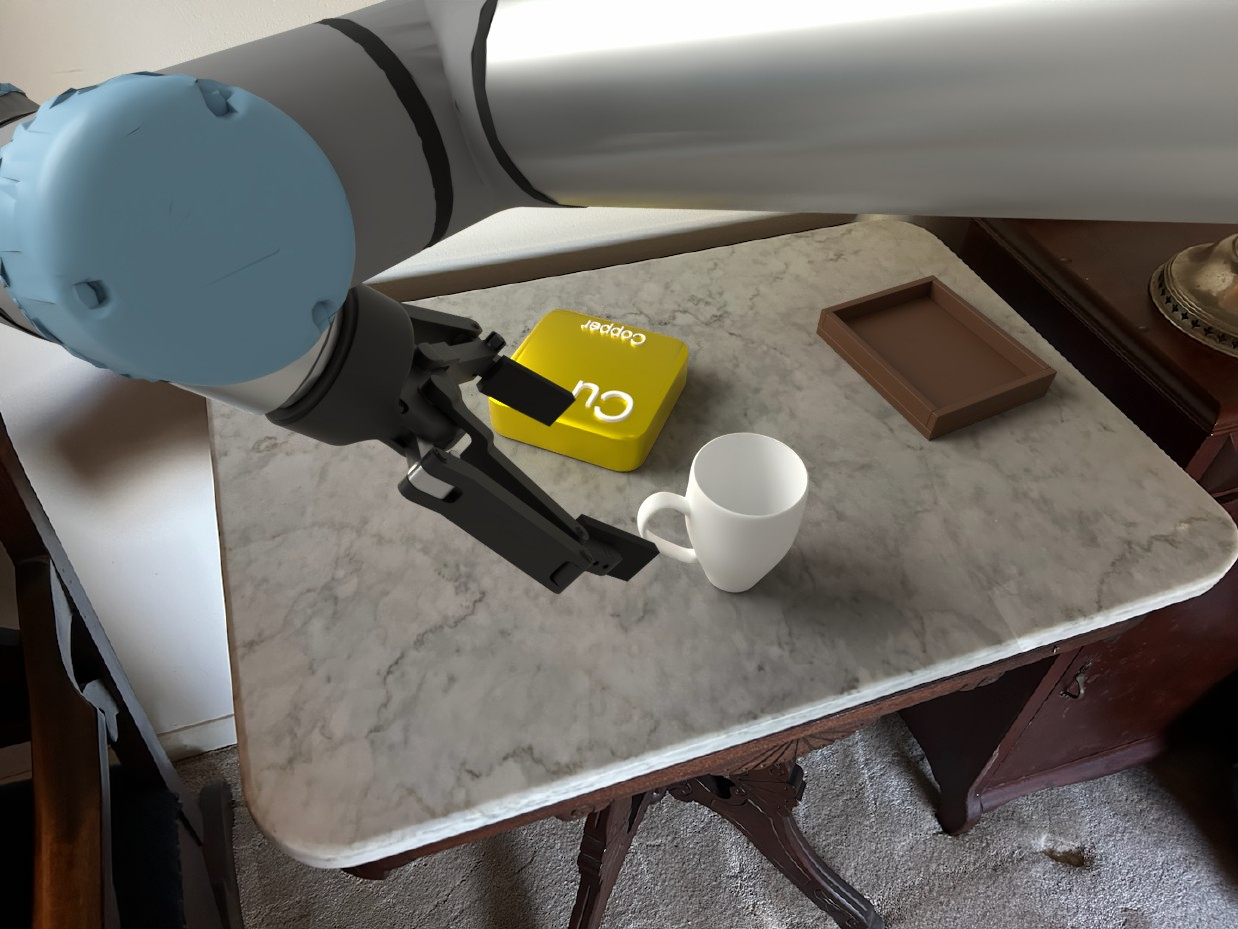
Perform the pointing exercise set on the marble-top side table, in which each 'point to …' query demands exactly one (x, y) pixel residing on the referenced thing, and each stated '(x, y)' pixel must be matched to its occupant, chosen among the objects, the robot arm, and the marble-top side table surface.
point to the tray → (934, 355)
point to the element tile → (599, 388)
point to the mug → (736, 509)
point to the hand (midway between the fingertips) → (598, 480)
